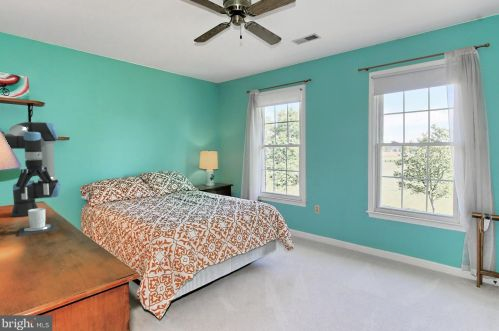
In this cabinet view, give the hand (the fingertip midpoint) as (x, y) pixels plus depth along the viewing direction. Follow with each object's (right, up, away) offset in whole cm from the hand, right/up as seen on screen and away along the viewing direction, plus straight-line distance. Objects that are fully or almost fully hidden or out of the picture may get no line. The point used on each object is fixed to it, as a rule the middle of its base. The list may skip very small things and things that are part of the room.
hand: (36, 196), depth 153 cm
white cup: (0, -18, +1) cm, 18 cm away
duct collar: (0, -19, +1) cm, 19 cm away
